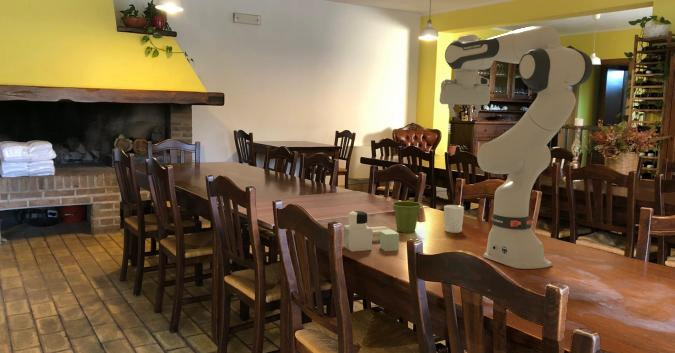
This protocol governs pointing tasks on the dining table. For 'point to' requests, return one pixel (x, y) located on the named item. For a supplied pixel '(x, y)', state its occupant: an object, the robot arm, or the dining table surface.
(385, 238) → the sage block
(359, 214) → the container
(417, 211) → the plant pot
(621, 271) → the dining table surface
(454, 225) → the white cup
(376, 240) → the beech block
